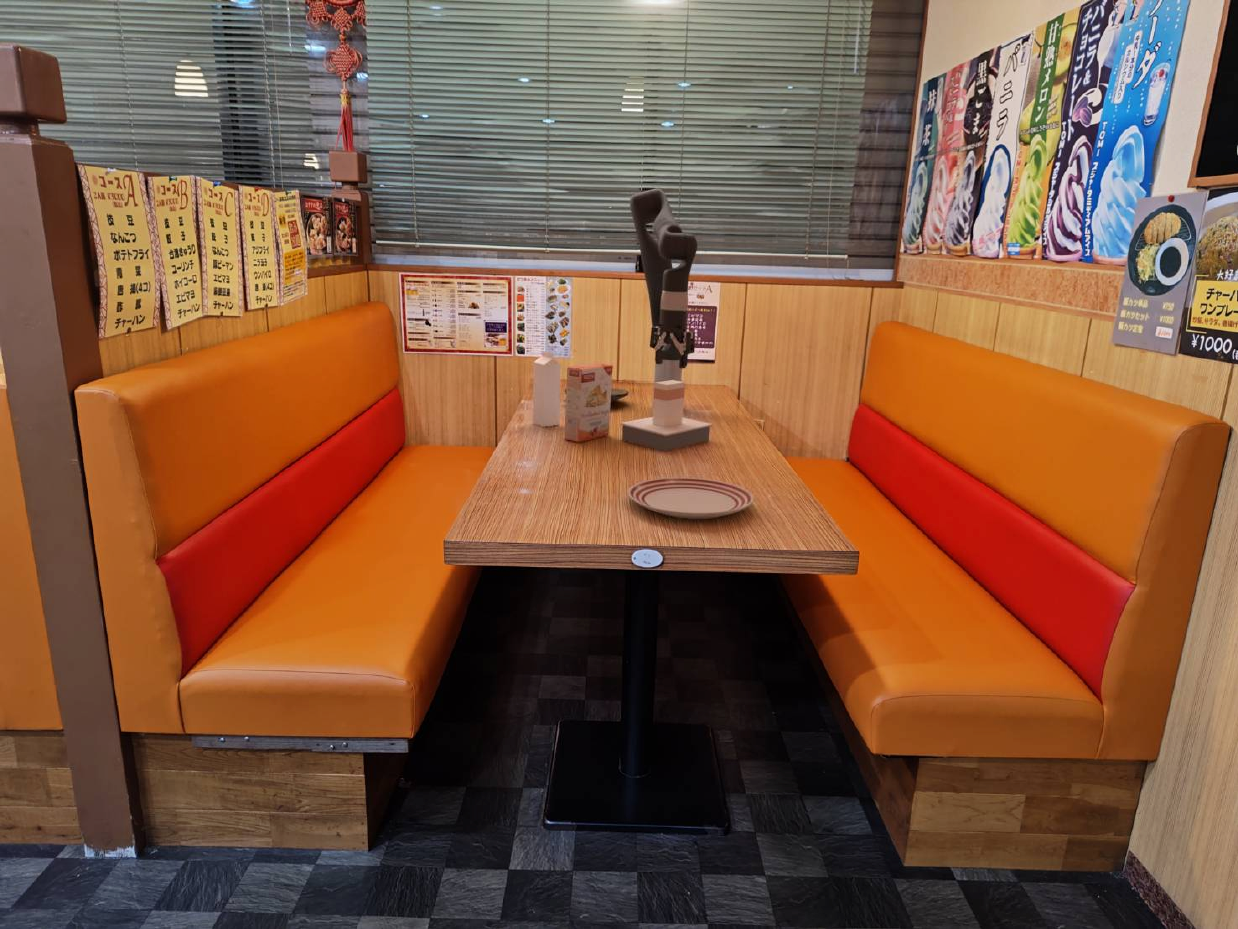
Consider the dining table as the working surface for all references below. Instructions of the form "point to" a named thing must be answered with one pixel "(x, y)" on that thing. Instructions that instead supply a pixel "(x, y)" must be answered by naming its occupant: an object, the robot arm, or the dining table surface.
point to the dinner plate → (690, 497)
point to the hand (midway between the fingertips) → (670, 366)
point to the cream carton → (668, 403)
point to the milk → (546, 390)
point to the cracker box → (588, 401)
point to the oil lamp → (616, 394)
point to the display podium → (665, 433)
